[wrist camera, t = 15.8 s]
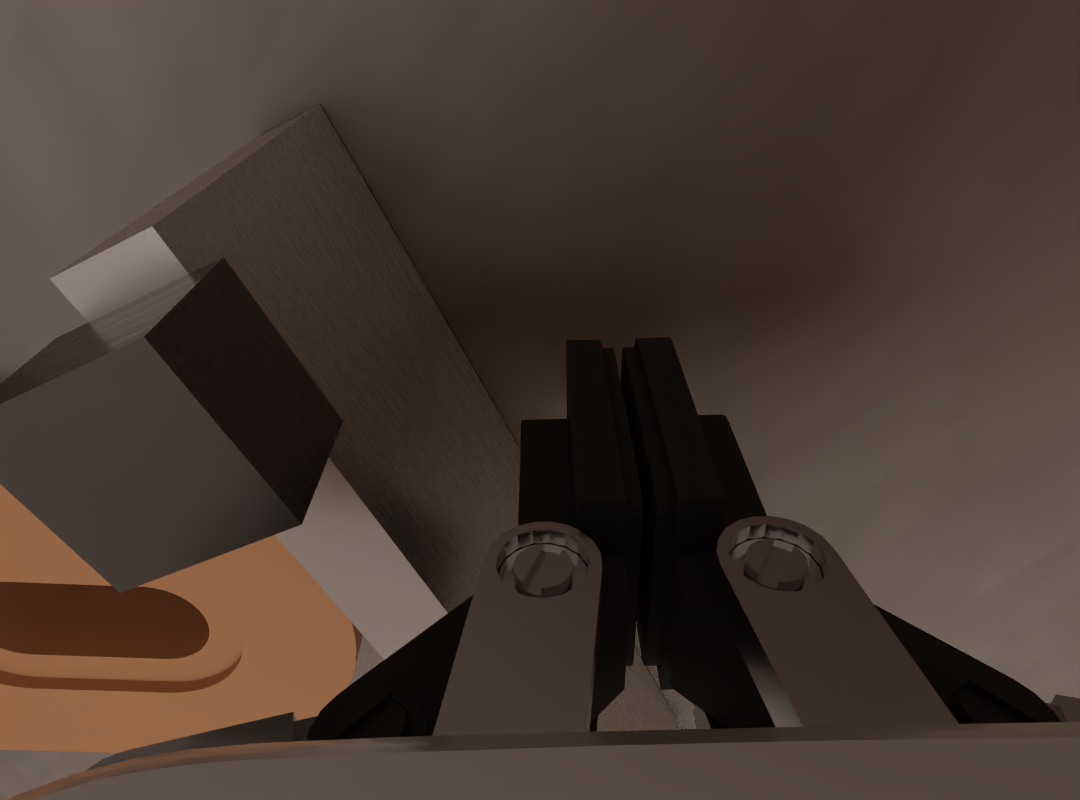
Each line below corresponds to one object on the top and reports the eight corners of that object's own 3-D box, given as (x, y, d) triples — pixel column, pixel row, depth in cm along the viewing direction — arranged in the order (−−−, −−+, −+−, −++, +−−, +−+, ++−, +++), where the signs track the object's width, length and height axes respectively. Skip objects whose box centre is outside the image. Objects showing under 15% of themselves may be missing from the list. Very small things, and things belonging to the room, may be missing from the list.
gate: (690, 716, 20) (764, 1074, 14) (624, 734, 21) (666, 1088, 14) (341, 93, 11) (94, 277, 5) (238, 146, 12) (-114, 381, 5)
